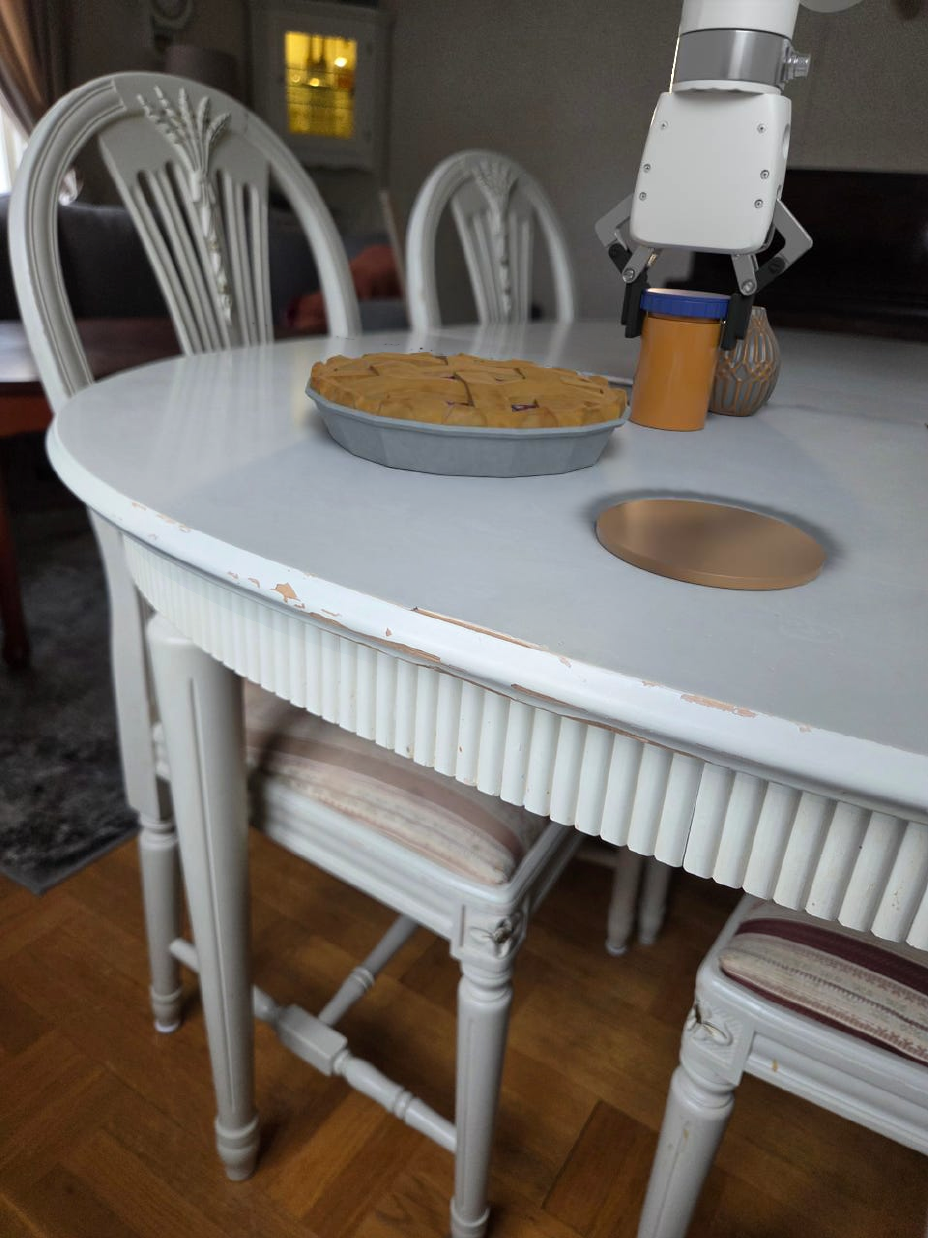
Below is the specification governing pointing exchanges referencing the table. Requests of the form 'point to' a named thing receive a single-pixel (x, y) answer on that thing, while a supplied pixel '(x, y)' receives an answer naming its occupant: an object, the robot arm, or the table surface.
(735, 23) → the robot arm
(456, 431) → the pie
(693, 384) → the jar
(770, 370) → the vase
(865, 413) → the table surface
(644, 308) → the lid
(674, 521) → the coaster
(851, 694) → the table surface
